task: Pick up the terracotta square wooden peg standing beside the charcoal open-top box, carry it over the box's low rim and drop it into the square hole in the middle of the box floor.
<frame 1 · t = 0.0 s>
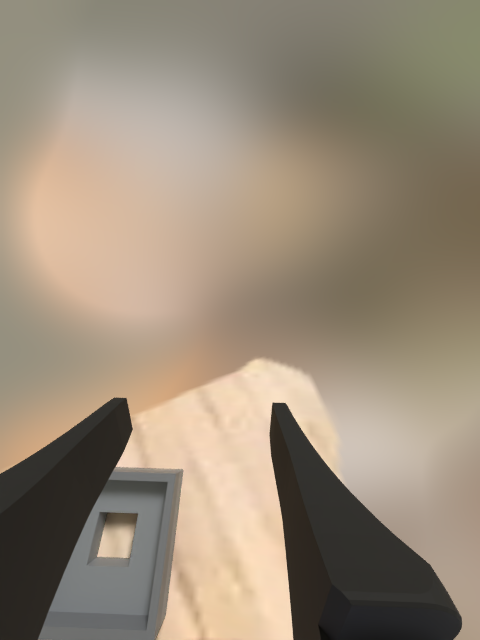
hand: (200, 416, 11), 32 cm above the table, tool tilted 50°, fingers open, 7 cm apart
hole box: (121, 531, 34), on the table
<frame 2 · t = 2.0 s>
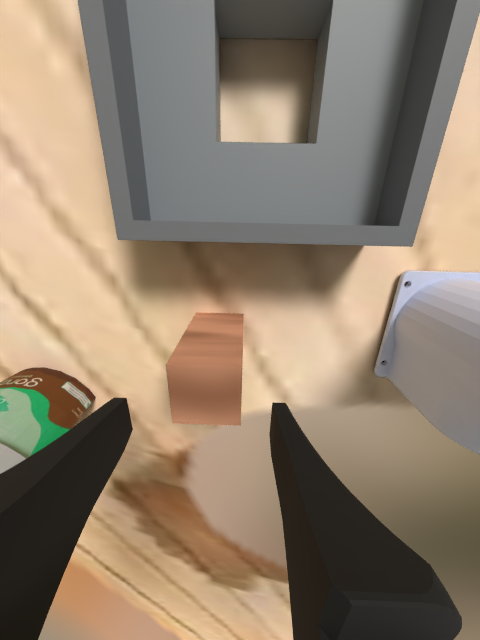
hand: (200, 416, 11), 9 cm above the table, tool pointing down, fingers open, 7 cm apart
peg: (220, 334, 20), on the table
hole box: (265, 101, 14), on the table
food container: (39, 383, 23), on the table
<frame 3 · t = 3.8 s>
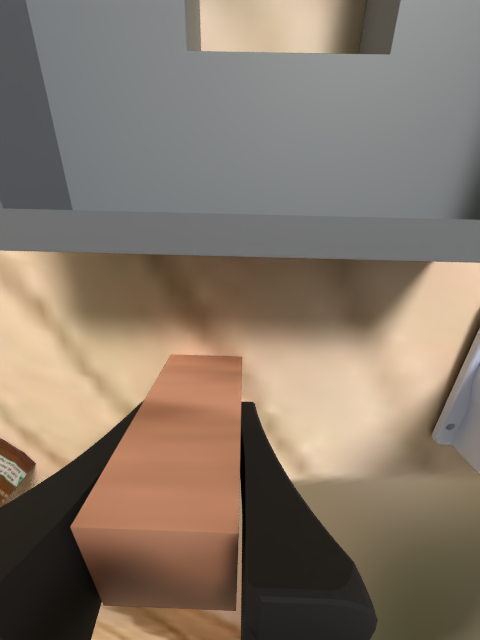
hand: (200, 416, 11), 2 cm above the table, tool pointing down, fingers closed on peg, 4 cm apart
peg: (207, 385, 14), on the table, touching gripper
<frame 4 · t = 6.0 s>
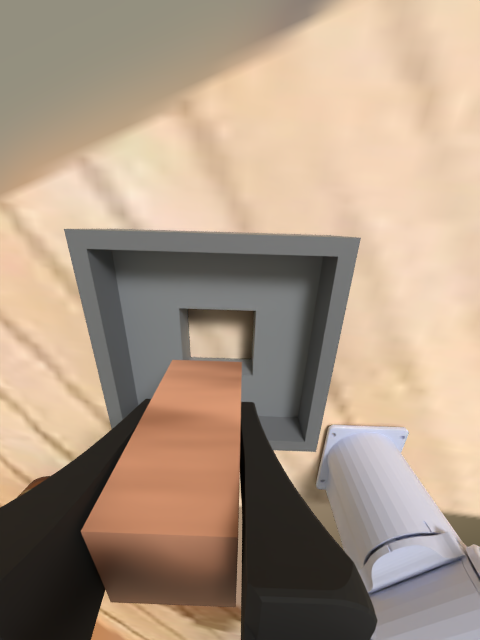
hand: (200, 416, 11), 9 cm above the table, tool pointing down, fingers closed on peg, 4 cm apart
peg: (208, 388, 14), point 7 cm above the table, touching gripper
hole box: (220, 330, 20), on the table
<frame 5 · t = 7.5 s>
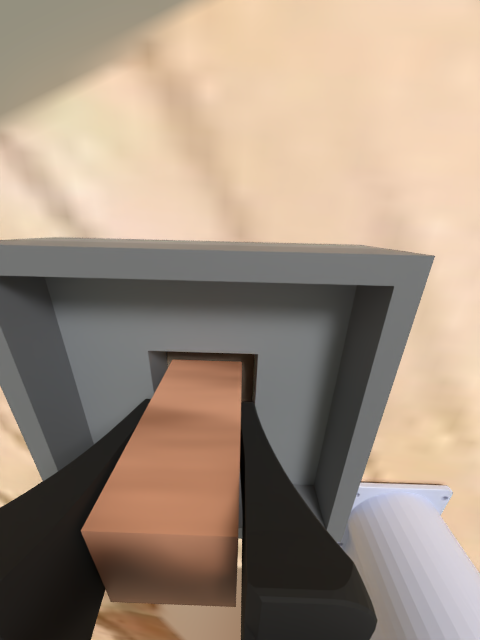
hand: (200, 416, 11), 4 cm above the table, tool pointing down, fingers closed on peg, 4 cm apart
peg: (208, 388, 14), point 1 cm above the table, touching gripper
hole box: (210, 370, 15), on the table
when the fingers open (4 cm above the table, at t = 8.5 s): peg drops 1 cm, resting in hole box.
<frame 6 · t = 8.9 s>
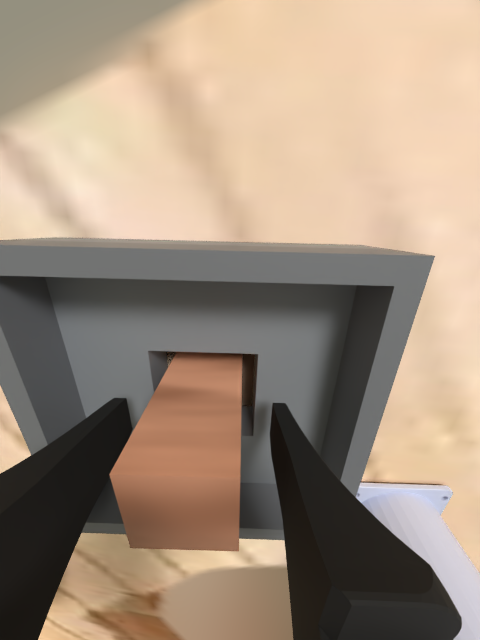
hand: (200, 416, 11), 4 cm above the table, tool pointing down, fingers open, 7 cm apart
peg: (211, 375, 15), resting in hole box
hole box: (211, 370, 15), on the table
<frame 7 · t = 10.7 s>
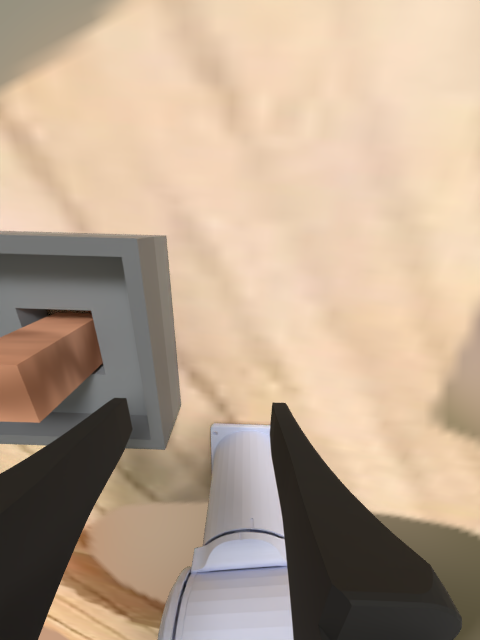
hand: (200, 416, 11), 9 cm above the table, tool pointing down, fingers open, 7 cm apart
peg: (85, 333, 20), resting in hole box
hole box: (83, 330, 20), on the table
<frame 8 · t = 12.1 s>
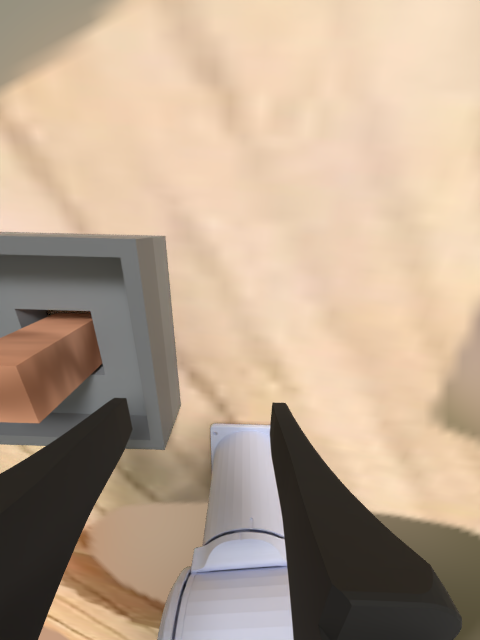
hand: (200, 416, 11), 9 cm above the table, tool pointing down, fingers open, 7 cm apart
peg: (85, 334, 20), resting in hole box
hole box: (83, 330, 20), on the table
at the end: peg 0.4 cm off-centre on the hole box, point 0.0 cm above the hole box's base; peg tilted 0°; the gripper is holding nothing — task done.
